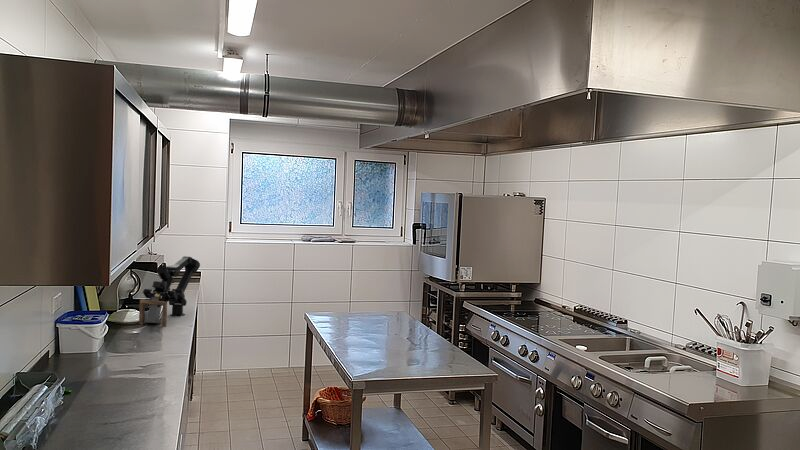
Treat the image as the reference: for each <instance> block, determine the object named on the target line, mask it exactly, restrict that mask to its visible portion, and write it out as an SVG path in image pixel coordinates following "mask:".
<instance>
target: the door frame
mask: <svg viewBox="0 0 800 450" xmlns="http://www.w3.org/2000/svg"><path fill="white" fill-rule="evenodd" d="M146 304H148V305H150V304H157V305H162V314H161V315H162V316H161V317H162V318H161V327H162V328H163V327H164V328H166V327H167V318H168V317H167V316H168V315H167V314H168V313H167V312H168V311H167V310H168V302H164V301H154V300H150V299H142V298H141V299H139V308H138V309H139V310H138V311H139V312H138V313H139V314H138V317H139V318H138V324H139V325H145V323H144V322H145V311H146Z"/></svg>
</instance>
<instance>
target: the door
mask: <svg viewBox="0 0 800 450" xmlns="http://www.w3.org/2000/svg"><path fill="white" fill-rule="evenodd" d="M148 314H149V310H145V319H146V318H147V319H148ZM146 323H147V322H144V324H146Z"/></svg>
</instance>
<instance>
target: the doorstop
mask: <svg viewBox="0 0 800 450" xmlns="http://www.w3.org/2000/svg"><path fill="white" fill-rule="evenodd" d="M161 298H162V296H161V295H160V293H156V294H155V297H152V298H151V300H154V301H160V300H161ZM161 310H162V306H160V307H158V305H157V304H149V310H148V311H149V314H148V319H147V318H146V319H145V322H146V323H149V324H160V325H161V324H162V319H160V315H161Z"/></svg>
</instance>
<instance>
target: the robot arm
mask: <svg viewBox="0 0 800 450" xmlns="http://www.w3.org/2000/svg"><path fill="white" fill-rule="evenodd" d="M200 267H201V262H199V260H198V259H195V258H193V257H191V256H186V255H184V256H182V258H180V259H179V260H178V261H177V262H175V263H174V264H171V265H167V264H162V265H161V266H158V267H157V268H156V270H155V271H156V273H157V275H158V277H159V279H160V280H161V281H157V280H156V281H155V280H153V284H152V288H153V289H154V290H152V289H151V288H144V289H143V290H142V293H143V295H144V296H145V298H146V299H149V300H151V298H152V297H155V294H156V293H160V295H161V297H160V298H161V300H160V301H164V302H167V303H168V305H169V306H171V307H172V308H171V314H169V316H170V315H171V316H172V317H181V315H182V316H185V315H186V313H184V306H185V307H186V306H187V303H188V302H187V299H186V297H185V295H186V294H185V291H186V289H187V287H188V284H189V283H190V281H191V278H192V276H193V275H194V274H195V273H196V272H198V270H199V268H200ZM183 269H184V272H183V274H182V276H181V279H180V280H179V283H178V284H177V287H176V288H172V289H171V288H170V287H171V286H172V284H174V283H175V279H174V277H176V278H177V277H179V275H180V273H181V270H183ZM160 306H161V307H163V305H158V307H160ZM171 316H170V317H171Z"/></svg>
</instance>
